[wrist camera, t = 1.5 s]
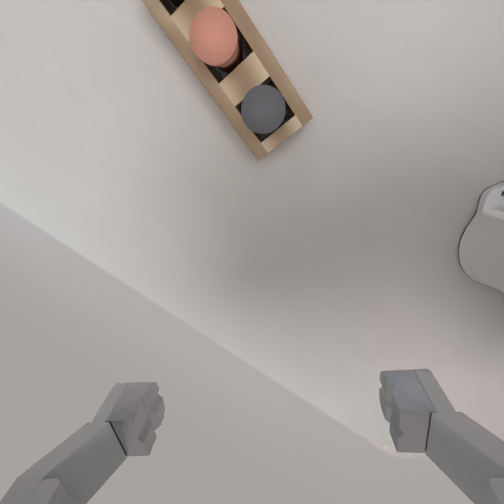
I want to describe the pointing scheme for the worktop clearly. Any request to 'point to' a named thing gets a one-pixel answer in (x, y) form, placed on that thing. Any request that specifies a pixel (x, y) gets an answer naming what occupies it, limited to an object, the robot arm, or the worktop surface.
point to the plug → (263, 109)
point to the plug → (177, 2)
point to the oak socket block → (242, 77)
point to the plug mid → (215, 39)
